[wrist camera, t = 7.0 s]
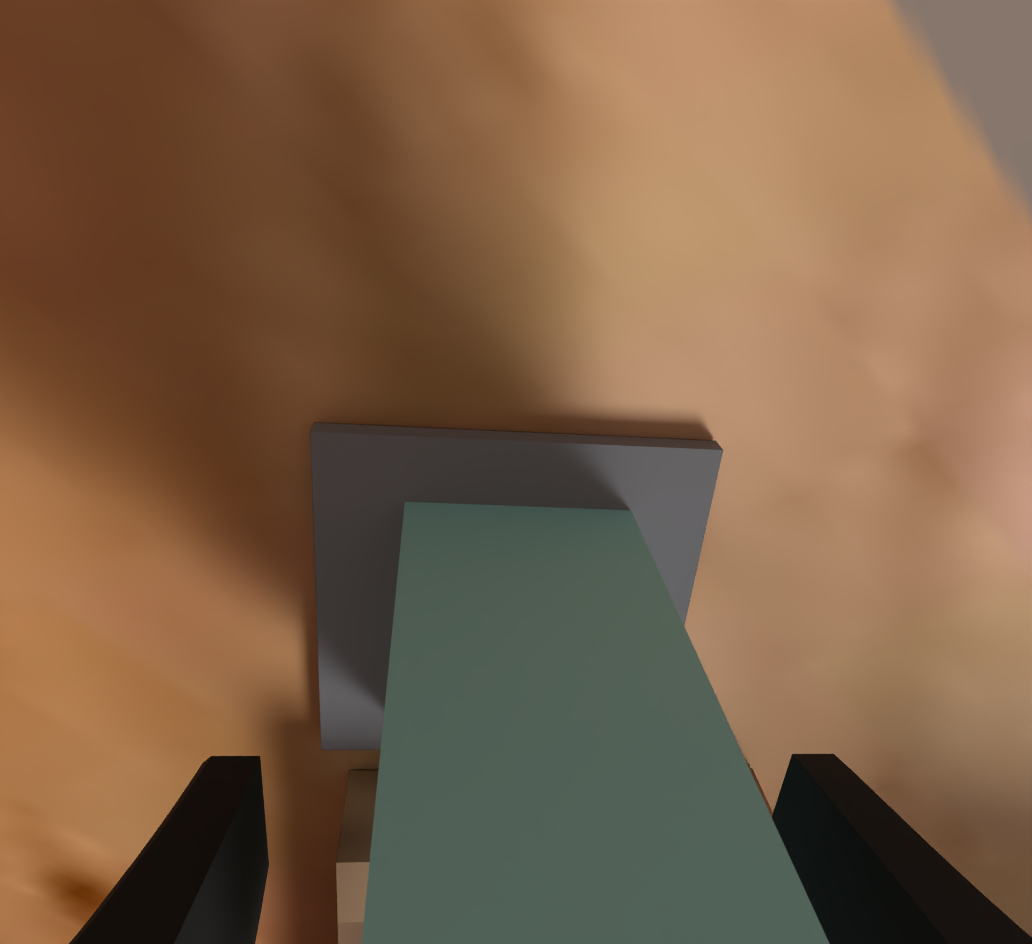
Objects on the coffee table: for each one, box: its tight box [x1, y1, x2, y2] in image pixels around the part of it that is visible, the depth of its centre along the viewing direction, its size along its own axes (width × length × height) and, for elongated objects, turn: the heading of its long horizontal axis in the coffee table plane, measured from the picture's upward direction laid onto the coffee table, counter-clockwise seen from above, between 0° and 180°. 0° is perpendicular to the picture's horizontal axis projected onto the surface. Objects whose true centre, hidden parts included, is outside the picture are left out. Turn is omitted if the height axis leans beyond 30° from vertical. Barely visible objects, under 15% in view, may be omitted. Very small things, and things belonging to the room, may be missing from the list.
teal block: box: [362, 502, 829, 944], centre depth 11 cm, size 4×5×8 cm
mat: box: [310, 423, 723, 750], centre depth 14 cm, size 7×7×1 cm
